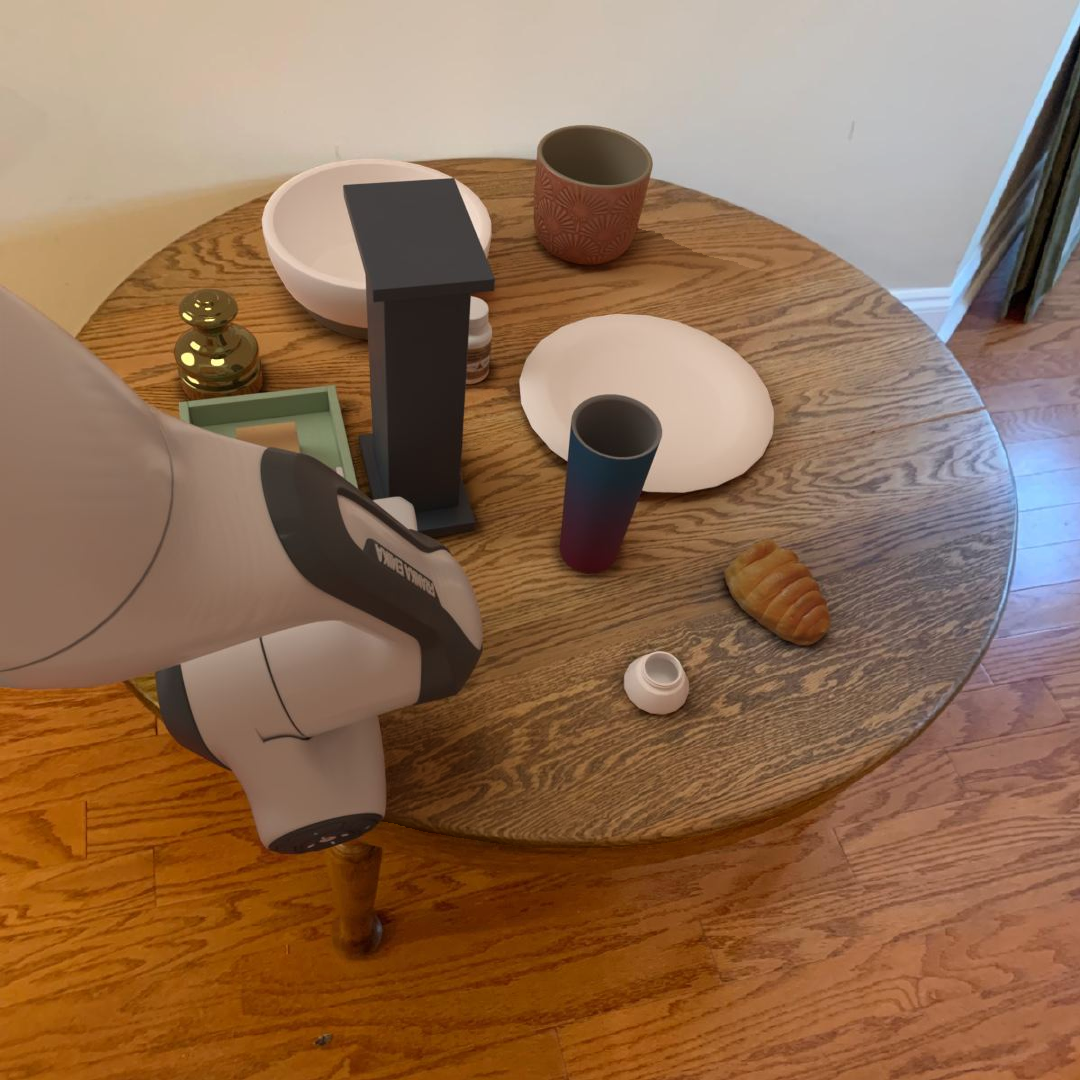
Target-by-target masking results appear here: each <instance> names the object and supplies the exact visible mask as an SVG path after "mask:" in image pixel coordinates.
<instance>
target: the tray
mask: <svg viewBox="0 0 1080 1080" xmlns="http://www.w3.org/2000/svg"><path fill="white" fill-rule="evenodd" d="M178 413H179V414H178V415H179V419H180V420H183V421H185V422H187V423H190V424H192V425H195V426H197V427H200V428H202V429H205V430H208V431H211V432H214V433H217V434H220V435H224V436H227V437H230V438H234V439H237V437H236V428H242V427H251V426H260V425H268V424H277V423H286V422H295V424H296V430H297V436H298V442H299V448H300V453H302V454H306V455H309V456H311V457H314V458H315V459H317V460H319V461H321V462H322V463H324V464H325V465H327V466H328V467H330V468H336V467H342V469H343V473H344V478H345V479H346V480H347V481H348V482H350V483H351V484H352V485H354V486H355V487H356V488H358V489H359V484H358V480H357V476H356V471H355V467H354V463H353V457H352V454H351V450H350V445H349V440H348V436H347V432H346V427H345V423H344V418H343V413H342V409H341V405H340V401H339V395H338V391H337V387H336V384H328V385H320V386H312V387H303V388H294V389H293V388H292V389H284V390H277V391H276V390H275V391H267V392H258V393H257V394H248V395H239V396H230V397H221V398H212V399H203V400H195V401H193V400H188V401H186V400H185V401H179V402H178Z"/></svg>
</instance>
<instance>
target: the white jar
mask: <svg viewBox="0 0 1080 1080" xmlns="http://www.w3.org/2000/svg"><path fill="white" fill-rule="evenodd" d="M689 682H690V681H689V678H688V676H687V674H686V672H685V669H684V667H683V666H682V664H681V662H680V660H679V659H678V658H677V657H676V656H675V655H673V654H672V653H670V652H667V651H663V650H659V651H658V650H656V651H652V652H651V653H647V654H644V655H642V656H639V657H637V658H636V659H635V660H633V661H632V662H631V663H629V664H628V667H627V668H626V671H625V673H624V676H623V689H624V691H625V693H626V695H627V697H628V700H630V701H631V702H632V703H633V704H634V705H635V706H636V707H637V708H638V709H640V710H641V711H645V712H647V713H649V714H652V715H653V714H655V715H667V714H670V713H673V712H674V713H675V712H676V711H678V710H679V709H680V708H681V707H682V706H683V705H684V704H685V703H686V700H687V698H688V695H689V693H690V683H689Z"/></svg>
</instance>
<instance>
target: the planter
mask: <svg viewBox="0 0 1080 1080" xmlns="http://www.w3.org/2000/svg"><path fill="white" fill-rule="evenodd" d="M535 162H536V163H535V173H534V174H535V175H534V190H533V191H534V192H533V225H534V232H535V234H536V237H537V240H538V241H539V242H540V244H541V245H542V246H543V248H545V250H547V252H549V253H550V254H551V255H553V256H555V257H556V258H559V259H561V260H563V261H565V262H569V263H572V264H576V265H577V264H578V265H583V266H584V265H586V266H590V265H591V266H592V265H593V266H594V265H603V264H605V263H609V262H611V261H614V260H616V259H618V258H619V257H621V256H622V255H623V254H624V253H625V252H626V251H627V250H628V248H629V247H630V246H631V243H632V241H633V240H634V237H635V235H636V231H637V228H638V226H639V222H640V219H641V216H642V211H643V208H644V204H645V200H646V195H647V191H648V187H649V183H650V179H651V175H652V171H653V166H654V161H653V157H652V155H651V153H650V151H649V150H648V148H646V146H644V144H643V143H641V142H640V141H638V139H636V138H634V137H633V136H632V135H629V134H626V133H625V132H622V131H619V130H616V129H613V128H610V127H605V126H600V125H593V124H592V125H591V124H576V125H568V126H567V125H566V126H563V127H560V128H556V129H553V130H551V131H550V132H547V134H545V135H544V136H543V137H542V138H541V139H540V141H539V142H538V144H537V148H536V161H535Z"/></svg>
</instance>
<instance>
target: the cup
mask: <svg viewBox="0 0 1080 1080" xmlns="http://www.w3.org/2000/svg"><path fill="white" fill-rule="evenodd" d="M661 438H662V427H661V423H660V421H659V419H658V417H657V416H656V414H655V413H654V412H653V411H652V410H651V409H650V408H649V407H648V406H646V405H645V404H643V403H641V402H640V401H637V400H635V399H633V398H630V397H627V396H622V395H616V394H605V395H598V396H594V397H591V398H589V399H587V400H585V401H583V402H582V403H581V404H579V405H578V406H577V408H576V409H575V410H574V412H573V415H572V419H571V428H570V439H569V450H568V460H567V462H566V472H565V483H564V494H563V505H562V516H561V526H560V535H559V537H560V538H559V548H558V549H559V554H560V557H561V559H562V560H563V562H564V563H565V564H566V565H568V567H570V568H571V569H573V570H575V571H576V572H580V573H583V574H589V575H593V574H594V575H595V574H600V573H604V572H606V571H607V570H609V569H611V567H613V566H614V564H615V562H616V561H617V558H618V555H619V553H620V551H621V547H622V545H623V543H624V540H625V537H626V534H627V532H628V530H629V527H630V524H631V521H632V518H633V515H634V513H635V510H636V508H637V505H638V502H639V499H640V497H641V495H642V493H643V492H642V489H643V486H644V484H645V481H646V478H647V476H648V473H649V470H650V468H651V465H652V462H653V460H654V457H655V454H656V452H657V449H658V446H659V444H660V441H661Z"/></svg>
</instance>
